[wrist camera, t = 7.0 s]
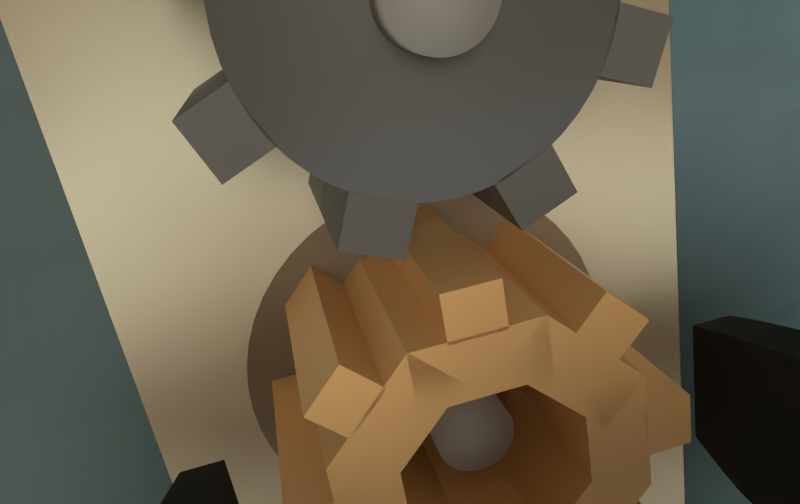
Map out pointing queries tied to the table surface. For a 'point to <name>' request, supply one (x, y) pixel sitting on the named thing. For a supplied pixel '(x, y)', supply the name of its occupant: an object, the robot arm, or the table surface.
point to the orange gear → (469, 378)
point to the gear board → (261, 210)
